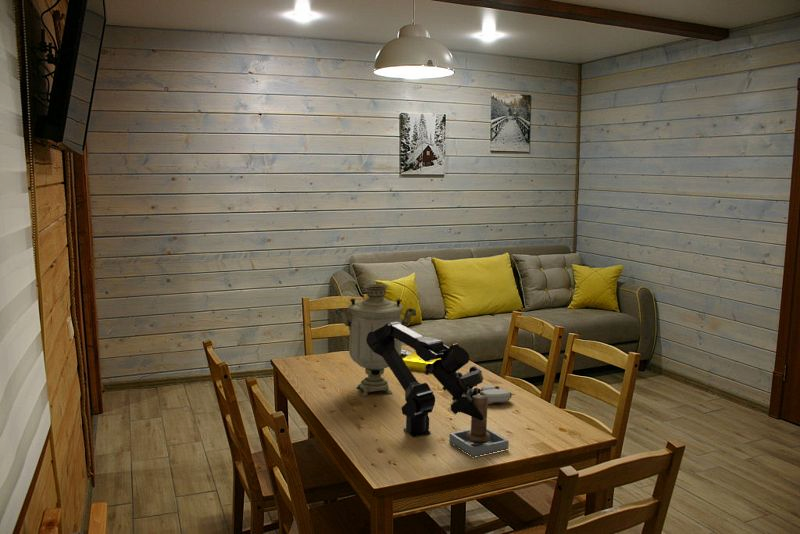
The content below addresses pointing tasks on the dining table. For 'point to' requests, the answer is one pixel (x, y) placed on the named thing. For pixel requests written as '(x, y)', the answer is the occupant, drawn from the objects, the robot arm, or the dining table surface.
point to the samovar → (371, 318)
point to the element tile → (416, 362)
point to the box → (478, 449)
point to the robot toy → (494, 394)
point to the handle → (479, 422)
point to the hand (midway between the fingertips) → (483, 416)
